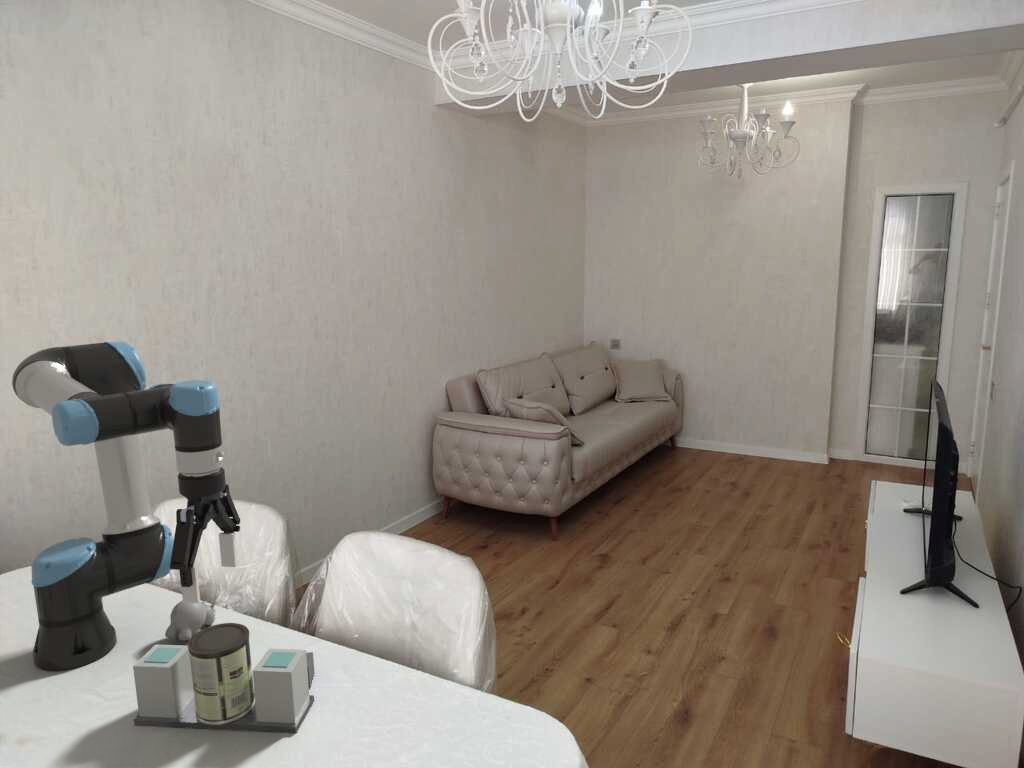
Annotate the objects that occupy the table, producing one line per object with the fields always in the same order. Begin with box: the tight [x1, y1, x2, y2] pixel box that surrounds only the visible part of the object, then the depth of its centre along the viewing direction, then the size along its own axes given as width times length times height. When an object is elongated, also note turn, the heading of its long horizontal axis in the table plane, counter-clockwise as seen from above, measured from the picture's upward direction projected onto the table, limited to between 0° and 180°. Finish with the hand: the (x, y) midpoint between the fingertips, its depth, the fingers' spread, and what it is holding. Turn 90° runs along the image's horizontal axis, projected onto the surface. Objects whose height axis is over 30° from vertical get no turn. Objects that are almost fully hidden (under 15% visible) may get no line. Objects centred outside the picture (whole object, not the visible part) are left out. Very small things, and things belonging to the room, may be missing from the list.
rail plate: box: [132, 693, 315, 734], centre depth 131 cm, size 30×9×1 cm, turn 85°
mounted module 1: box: [132, 644, 194, 718], centre depth 131 cm, size 7×7×10 cm
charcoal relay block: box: [306, 651, 315, 690], centre depth 140 cm, size 5×5×5 cm
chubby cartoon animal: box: [164, 599, 217, 641], centre depth 158 cm, size 7×12×8 cm, turn 158°
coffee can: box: [187, 622, 255, 725], centre depth 129 cm, size 10×10×14 cm
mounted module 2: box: [252, 648, 310, 723], centre depth 129 cm, size 7×7×10 cm
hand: (211, 583), depth 128 cm, fingers open, 13 cm apart
